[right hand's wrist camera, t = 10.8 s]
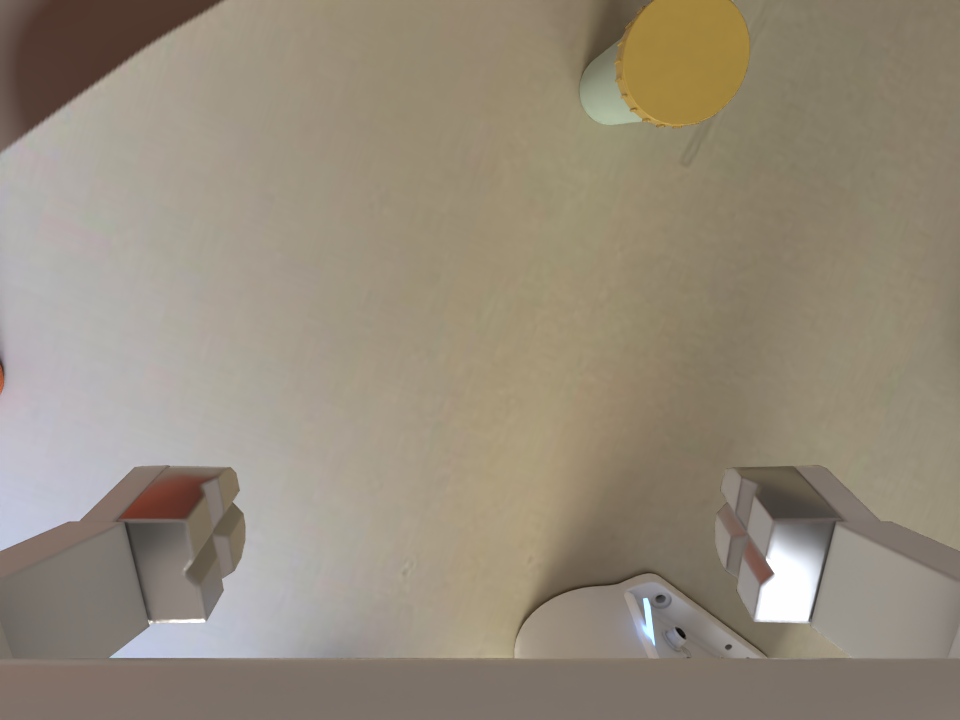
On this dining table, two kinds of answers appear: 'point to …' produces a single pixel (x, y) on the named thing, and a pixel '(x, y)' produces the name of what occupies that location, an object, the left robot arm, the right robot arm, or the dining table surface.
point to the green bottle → (604, 91)
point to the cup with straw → (1, 379)
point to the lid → (682, 60)
